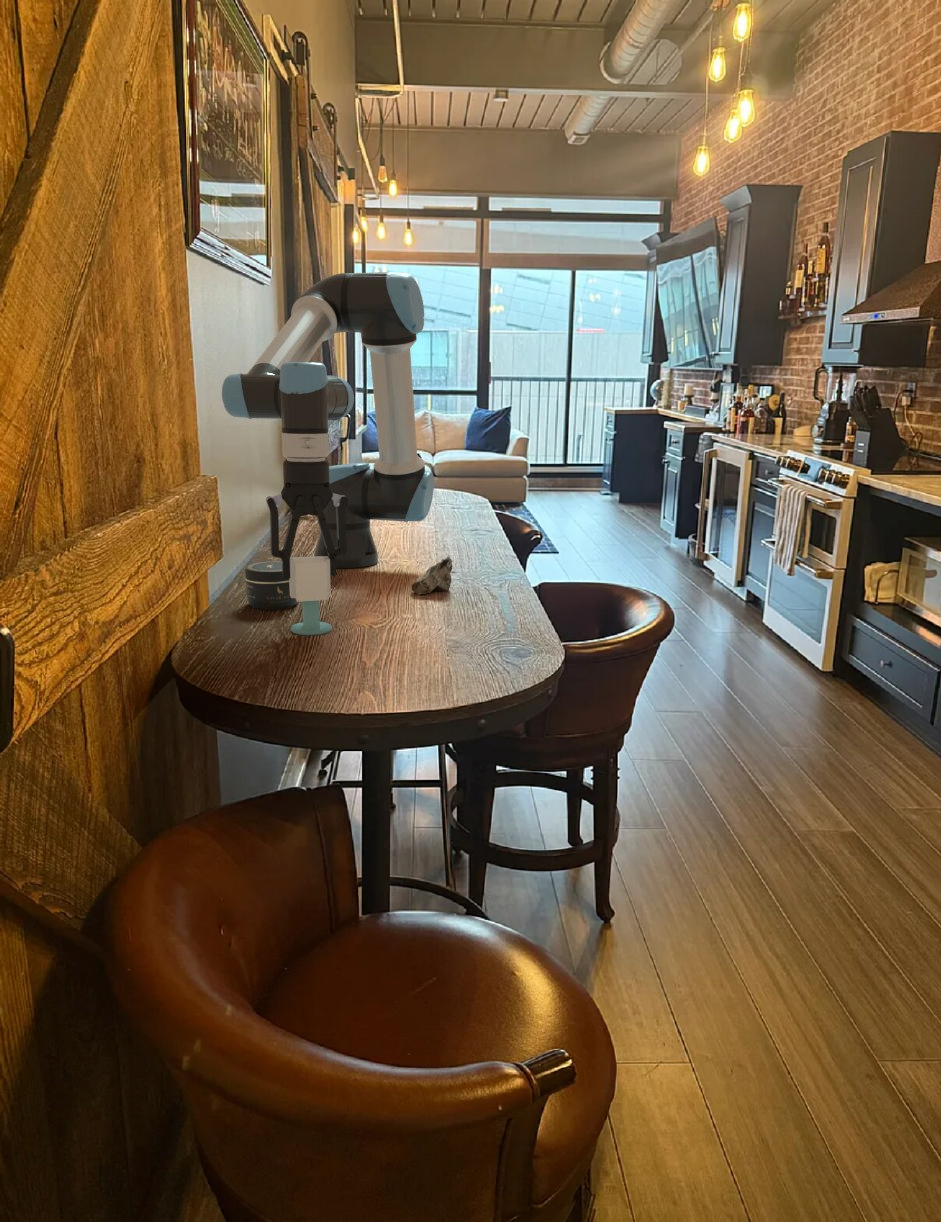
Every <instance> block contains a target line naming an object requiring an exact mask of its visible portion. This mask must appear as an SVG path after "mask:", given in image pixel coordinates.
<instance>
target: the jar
mask: <svg viewBox="0 0 941 1222" xmlns="http://www.w3.org/2000/svg"><path fill="white" fill-rule="evenodd" d="M244 571H245V572H244V573H245V574H244V576H245V577H244V579H245V589H246V590H245V591H246V599H247V602H248V605H249V606H251V608H253V609H255V610H260V611H281V610H287V609H290V608H293V607H295V606H296V604H298V602H297V601H296V599H295V598H291V596H290V585H289V578H284V576H283V573H282V561H279V560H278V561H277V560H276V561H261V562H255V563H252V564H251V563H250V564H248V565H247V566H246V567H245V570H244Z"/></svg>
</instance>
